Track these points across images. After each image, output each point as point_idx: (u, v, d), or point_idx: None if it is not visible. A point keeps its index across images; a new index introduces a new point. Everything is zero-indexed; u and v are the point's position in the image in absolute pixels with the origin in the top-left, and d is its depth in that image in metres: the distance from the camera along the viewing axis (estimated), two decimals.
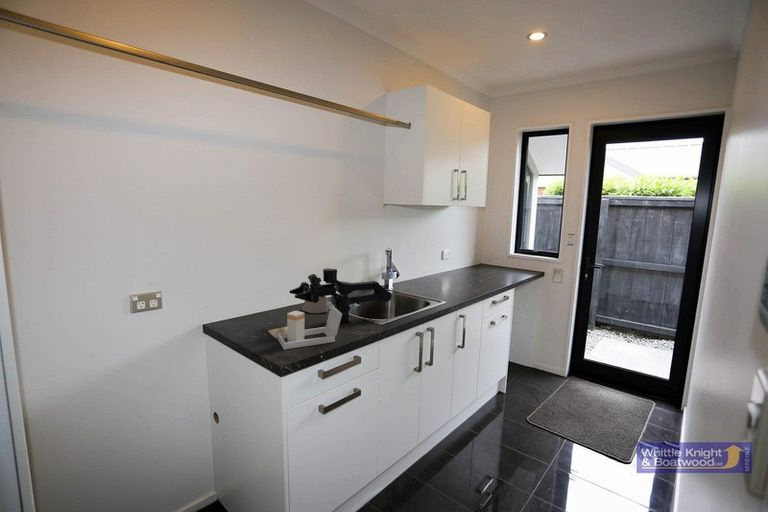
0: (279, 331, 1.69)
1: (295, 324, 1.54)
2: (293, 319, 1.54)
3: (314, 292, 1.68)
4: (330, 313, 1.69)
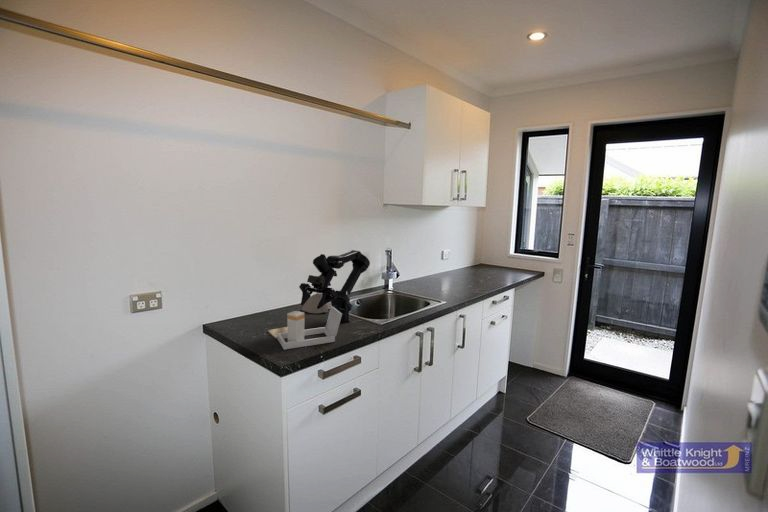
0: (279, 331, 1.69)
1: (295, 324, 1.54)
2: (293, 319, 1.54)
3: (332, 292, 1.62)
4: (330, 313, 1.69)
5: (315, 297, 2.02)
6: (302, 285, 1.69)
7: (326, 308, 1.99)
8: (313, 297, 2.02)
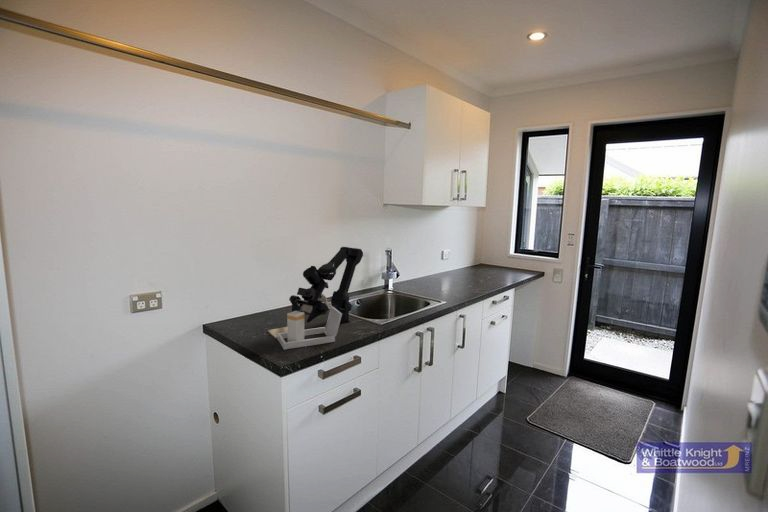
0: (279, 331, 1.69)
1: (295, 324, 1.54)
2: (293, 319, 1.54)
3: (322, 305, 1.57)
4: (330, 313, 1.69)
5: None
6: (292, 297, 1.64)
7: None
8: None
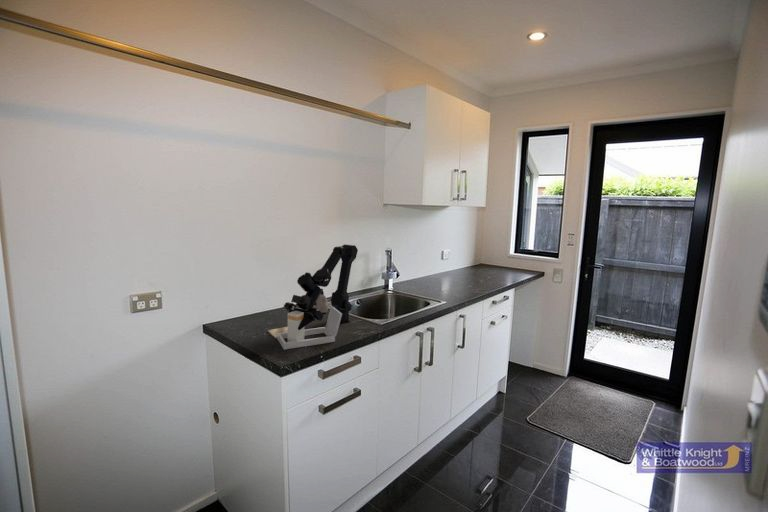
0: (279, 331, 1.69)
1: (295, 324, 1.54)
2: (293, 319, 1.54)
3: (317, 313, 1.54)
4: (330, 313, 1.69)
5: None
6: (286, 305, 1.62)
7: (326, 308, 1.99)
8: None
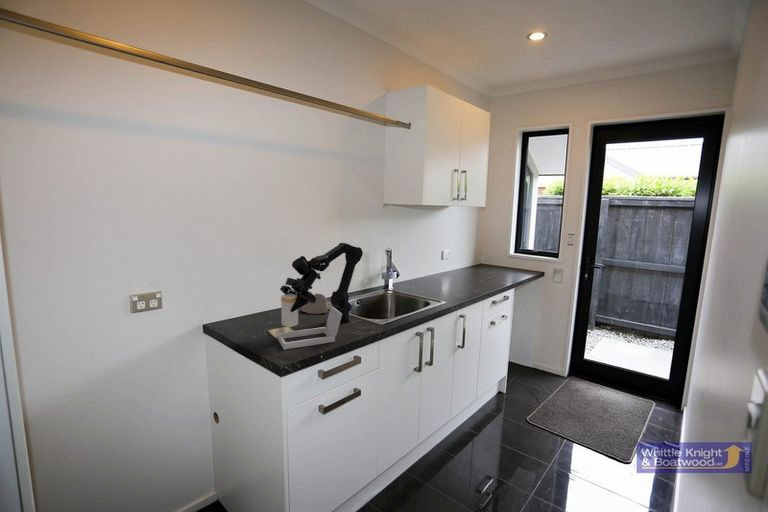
0: (279, 331, 1.69)
1: (287, 306, 1.56)
2: (286, 301, 1.56)
3: (308, 296, 1.55)
4: (330, 313, 1.69)
5: None
6: (283, 287, 1.64)
7: (325, 308, 1.98)
8: None
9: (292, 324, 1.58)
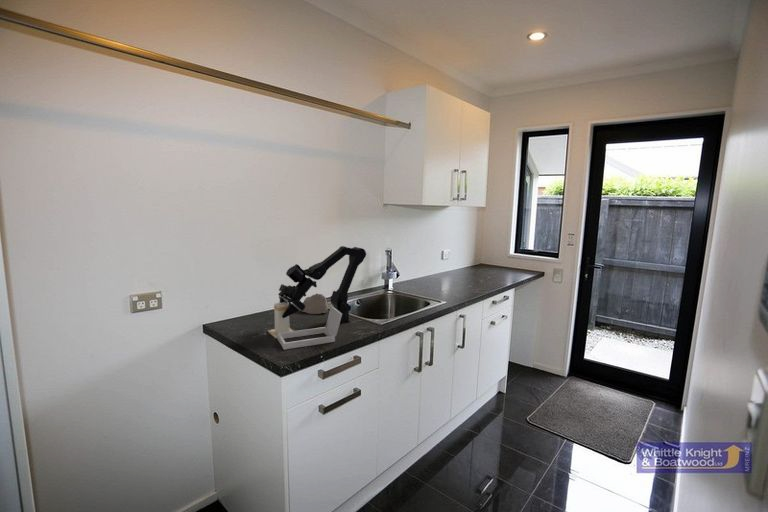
0: None
1: (278, 314, 1.64)
2: (277, 309, 1.65)
3: (296, 303, 1.61)
4: (330, 313, 1.69)
5: (314, 298, 2.01)
6: (280, 293, 1.73)
7: (325, 309, 1.98)
8: (312, 297, 2.01)
9: (282, 331, 1.66)
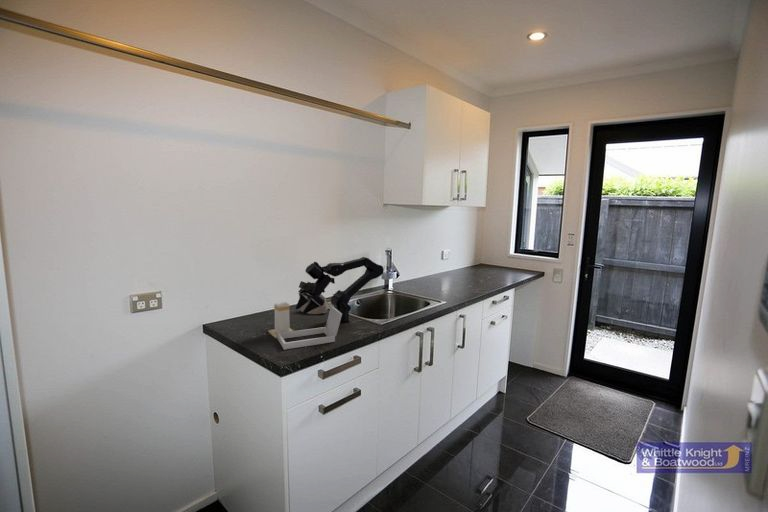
0: None
1: (278, 314, 1.64)
2: (277, 309, 1.65)
3: (315, 299, 1.67)
4: (330, 313, 1.69)
5: None
6: (300, 290, 1.80)
7: (325, 309, 1.98)
8: None
9: (282, 331, 1.66)
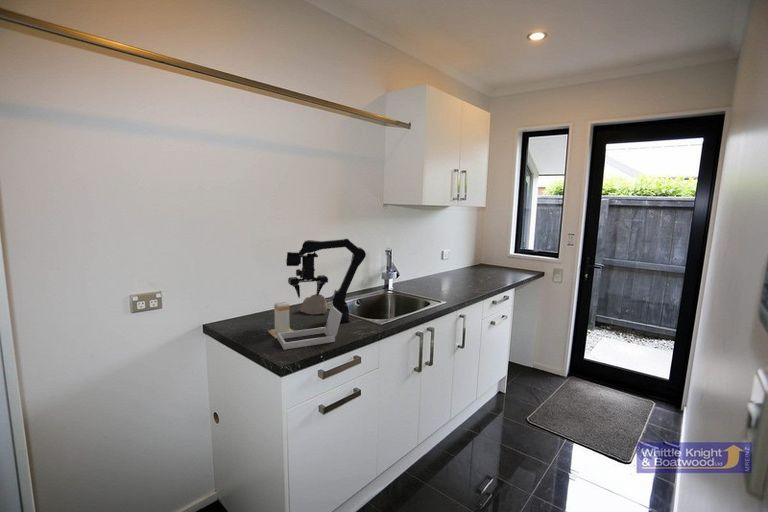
0: None
1: (278, 314, 1.64)
2: (277, 309, 1.65)
3: (288, 281, 1.79)
4: (330, 313, 1.69)
5: (313, 298, 2.00)
6: None
7: (324, 309, 1.97)
8: (312, 298, 2.01)
9: (282, 331, 1.66)
